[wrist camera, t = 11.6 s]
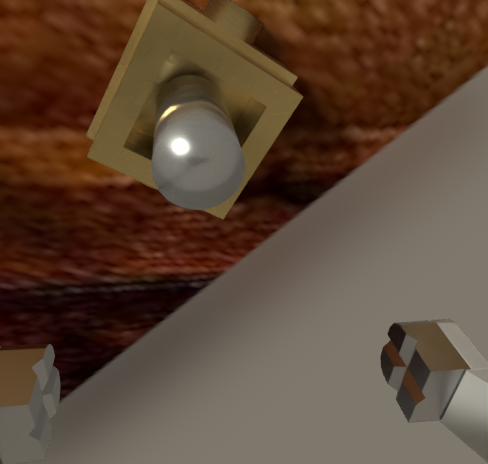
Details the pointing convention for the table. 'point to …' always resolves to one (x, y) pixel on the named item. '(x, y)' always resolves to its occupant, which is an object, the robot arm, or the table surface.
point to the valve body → (192, 63)
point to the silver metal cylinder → (195, 145)
